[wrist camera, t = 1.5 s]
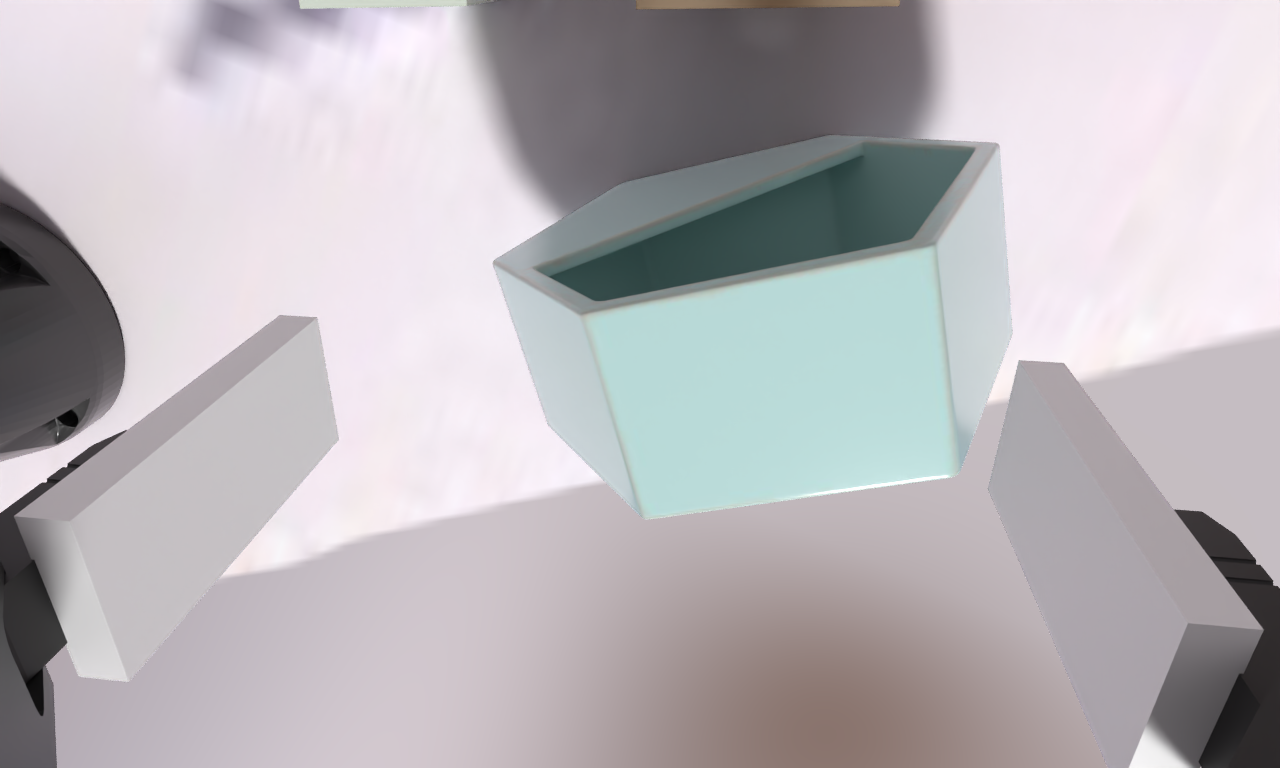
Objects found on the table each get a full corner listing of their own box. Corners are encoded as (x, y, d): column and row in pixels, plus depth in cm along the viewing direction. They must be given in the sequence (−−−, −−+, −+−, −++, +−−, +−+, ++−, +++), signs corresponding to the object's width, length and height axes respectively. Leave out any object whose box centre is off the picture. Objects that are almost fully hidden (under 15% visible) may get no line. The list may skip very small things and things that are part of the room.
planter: (765, 130, 43) (1145, 145, 25) (791, 271, 46) (1145, 371, 29) (457, 241, 38) (663, 357, 20) (511, 391, 41) (729, 605, 23)
